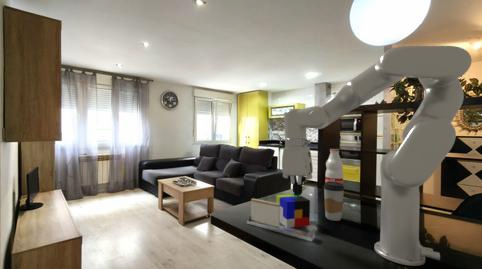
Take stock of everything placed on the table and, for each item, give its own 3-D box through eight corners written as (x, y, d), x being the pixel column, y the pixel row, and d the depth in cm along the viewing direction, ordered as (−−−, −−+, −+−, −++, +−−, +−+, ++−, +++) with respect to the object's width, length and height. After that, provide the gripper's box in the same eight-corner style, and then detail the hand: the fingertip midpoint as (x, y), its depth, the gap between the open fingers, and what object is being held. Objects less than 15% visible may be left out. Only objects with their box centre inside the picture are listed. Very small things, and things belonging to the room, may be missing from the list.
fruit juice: (344, 197, 131) (345, 149, 131) (340, 201, 124) (340, 150, 124) (328, 194, 137) (328, 148, 137) (322, 198, 130) (323, 149, 130)
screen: (279, 225, 86) (280, 203, 86) (278, 226, 84) (278, 204, 84) (252, 218, 92) (252, 198, 92) (250, 219, 91) (251, 199, 91)
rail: (314, 237, 79) (315, 229, 79) (311, 241, 76) (311, 232, 76) (251, 220, 94) (251, 213, 94) (246, 223, 91) (246, 216, 91)
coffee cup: (346, 218, 98) (347, 183, 98) (339, 223, 92) (340, 186, 92) (327, 213, 104) (328, 180, 104) (319, 218, 98) (320, 183, 98)
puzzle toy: (286, 227, 87) (287, 202, 87) (275, 218, 97) (276, 195, 97) (309, 225, 90) (309, 200, 90) (296, 216, 100) (297, 193, 100)
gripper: (319, 142, 80) (322, 194, 80) (280, 143, 89) (282, 190, 88) (313, 143, 74) (315, 200, 74) (272, 144, 83) (274, 195, 82)
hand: (297, 194), depth 81 cm, fingers closed
